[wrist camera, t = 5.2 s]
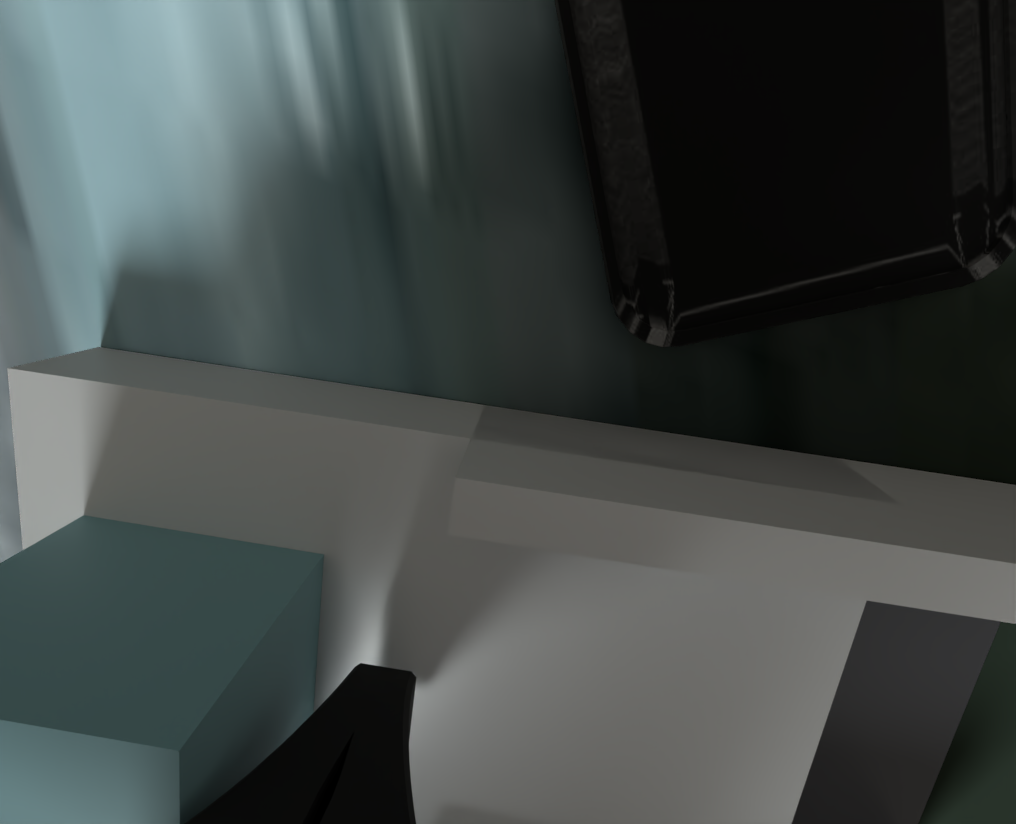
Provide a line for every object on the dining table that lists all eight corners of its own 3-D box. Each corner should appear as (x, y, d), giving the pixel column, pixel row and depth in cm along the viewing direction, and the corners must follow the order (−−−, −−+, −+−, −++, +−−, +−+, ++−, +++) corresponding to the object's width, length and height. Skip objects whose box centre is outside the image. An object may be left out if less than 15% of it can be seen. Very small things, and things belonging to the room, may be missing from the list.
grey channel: (115, 734, 17) (-31, 899, 13) (99, 346, 14) (-98, 392, 10) (890, 863, 17) (1011, 1082, 12) (1042, 488, 14) (1270, 602, 9)
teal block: (93, 716, 14) (-148, 965, 9) (83, 515, 13) (-207, 683, 8) (310, 753, 14) (180, 1027, 9) (324, 554, 12) (178, 750, 8)
